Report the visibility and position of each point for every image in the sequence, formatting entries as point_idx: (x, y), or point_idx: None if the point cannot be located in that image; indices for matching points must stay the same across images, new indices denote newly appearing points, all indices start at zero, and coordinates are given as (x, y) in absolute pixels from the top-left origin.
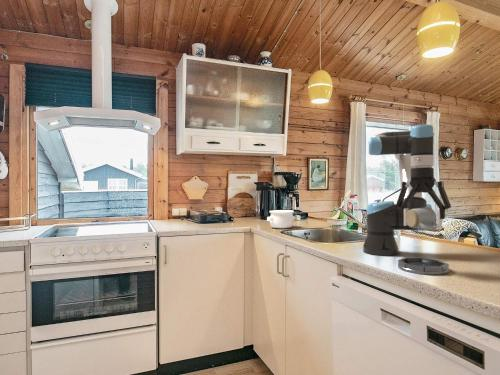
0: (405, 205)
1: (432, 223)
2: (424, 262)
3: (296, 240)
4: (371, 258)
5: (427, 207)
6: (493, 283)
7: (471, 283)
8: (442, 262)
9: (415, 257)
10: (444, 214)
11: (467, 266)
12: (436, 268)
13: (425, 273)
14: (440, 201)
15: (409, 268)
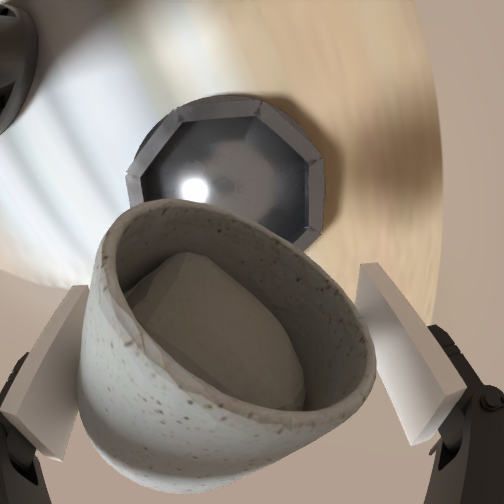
0: (42, 484)
1: (318, 322)
2: (200, 121)
3: None
4: (20, 194)
5: (271, 448)
6: (439, 213)
7: (397, 256)
8: (293, 143)
9: (157, 133)
10: (456, 366)
11: (342, 20)
12: (302, 248)
13: None
14: (491, 495)
15: None
